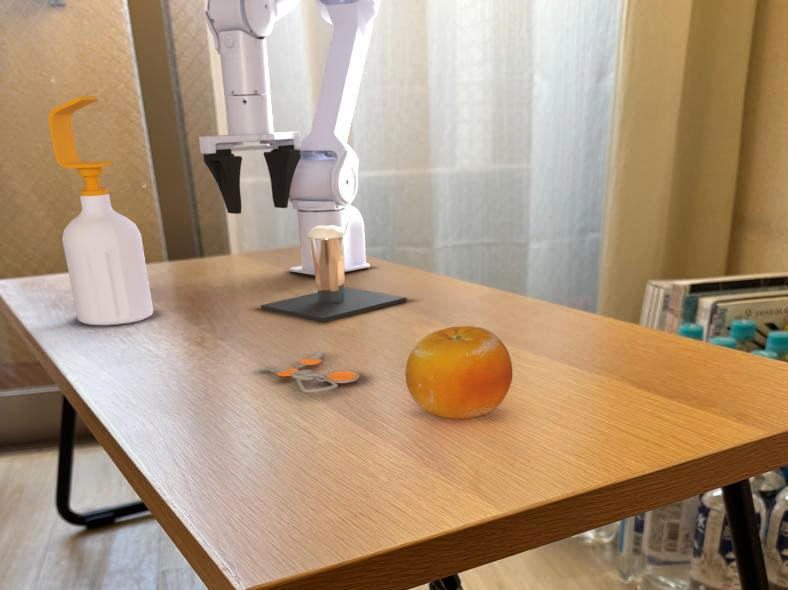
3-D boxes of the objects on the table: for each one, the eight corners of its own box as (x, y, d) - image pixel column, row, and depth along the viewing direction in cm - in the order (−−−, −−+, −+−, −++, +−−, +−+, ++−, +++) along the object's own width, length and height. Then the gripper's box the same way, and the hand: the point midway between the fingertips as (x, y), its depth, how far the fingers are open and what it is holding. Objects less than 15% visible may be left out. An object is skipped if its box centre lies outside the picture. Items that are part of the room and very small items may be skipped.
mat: (344, 290, 121) (343, 286, 121) (406, 301, 113) (406, 297, 113) (260, 309, 112) (260, 304, 112) (322, 322, 105) (322, 318, 104)
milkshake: (348, 305, 110) (343, 220, 105) (308, 304, 111) (301, 220, 107) (360, 297, 114) (356, 215, 109) (321, 296, 115) (315, 215, 111)
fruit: (371, 370, 74) (424, 290, 70) (438, 384, 80) (491, 311, 76) (424, 439, 70) (483, 358, 66) (490, 448, 76) (548, 374, 72)
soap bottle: (133, 327, 106) (93, 96, 95) (64, 326, 108) (17, 99, 97) (166, 310, 114) (133, 94, 103) (100, 309, 116) (61, 97, 104)
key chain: (372, 386, 81) (371, 376, 81) (294, 398, 79) (294, 389, 78) (326, 353, 92) (325, 345, 91) (256, 363, 89) (255, 355, 89)
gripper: (217, 95, 105) (230, 217, 111) (312, 93, 114) (319, 206, 120) (184, 97, 110) (198, 214, 116) (278, 95, 119) (287, 204, 125)
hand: (258, 210), depth 118 cm, fingers open, 7 cm apart
